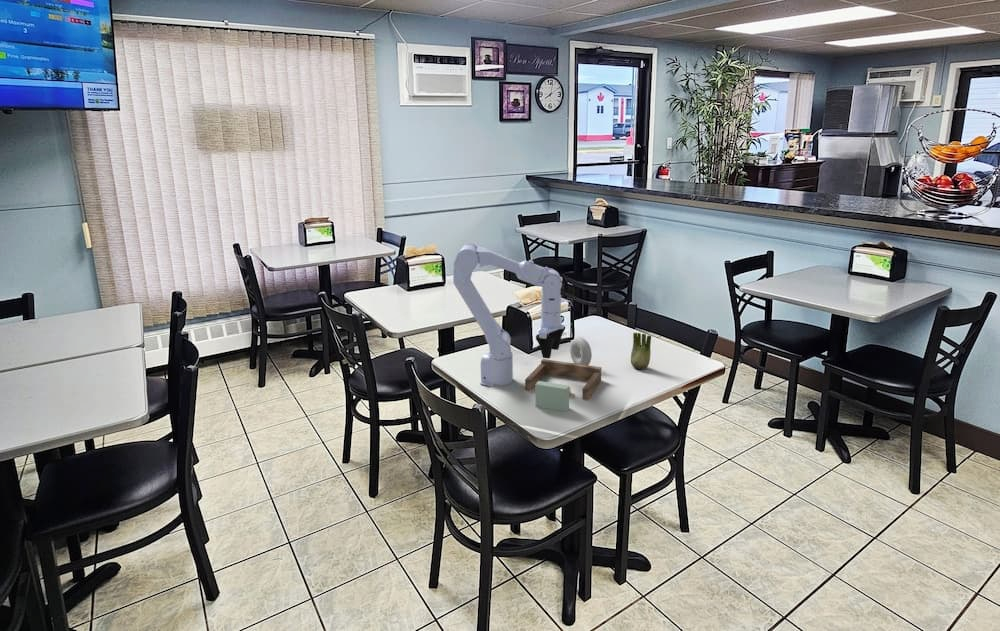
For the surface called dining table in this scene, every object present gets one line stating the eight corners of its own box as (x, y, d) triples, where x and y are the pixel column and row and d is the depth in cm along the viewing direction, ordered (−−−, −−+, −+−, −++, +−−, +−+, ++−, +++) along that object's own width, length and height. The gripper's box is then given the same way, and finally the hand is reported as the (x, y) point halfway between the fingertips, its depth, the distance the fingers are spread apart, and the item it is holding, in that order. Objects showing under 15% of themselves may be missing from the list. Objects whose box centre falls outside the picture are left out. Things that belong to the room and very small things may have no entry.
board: (535, 407, 165) (535, 384, 163) (538, 403, 167) (538, 380, 165) (566, 412, 161) (566, 389, 159) (568, 408, 163) (569, 385, 161)
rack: (525, 391, 176) (525, 376, 174) (542, 373, 188) (542, 358, 187) (587, 402, 168) (588, 386, 167) (601, 382, 181) (601, 367, 179)
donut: (593, 371, 189) (594, 341, 186) (584, 373, 188) (585, 343, 185) (576, 360, 198) (577, 332, 195) (567, 362, 197) (568, 334, 194)
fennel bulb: (651, 369, 190) (653, 334, 186) (639, 372, 188) (641, 337, 184) (638, 363, 195) (640, 329, 191) (627, 366, 192) (629, 332, 189)
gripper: (555, 319, 167) (555, 363, 171) (571, 305, 180) (570, 347, 184) (532, 316, 170) (532, 360, 174) (549, 303, 183) (549, 344, 187)
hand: (550, 353), depth 179 cm, fingers open, 7 cm apart
